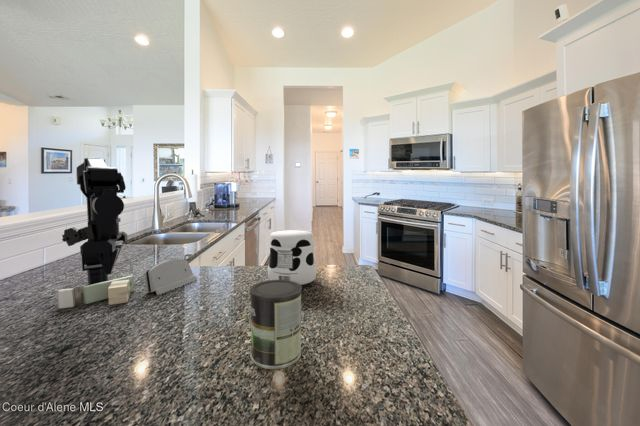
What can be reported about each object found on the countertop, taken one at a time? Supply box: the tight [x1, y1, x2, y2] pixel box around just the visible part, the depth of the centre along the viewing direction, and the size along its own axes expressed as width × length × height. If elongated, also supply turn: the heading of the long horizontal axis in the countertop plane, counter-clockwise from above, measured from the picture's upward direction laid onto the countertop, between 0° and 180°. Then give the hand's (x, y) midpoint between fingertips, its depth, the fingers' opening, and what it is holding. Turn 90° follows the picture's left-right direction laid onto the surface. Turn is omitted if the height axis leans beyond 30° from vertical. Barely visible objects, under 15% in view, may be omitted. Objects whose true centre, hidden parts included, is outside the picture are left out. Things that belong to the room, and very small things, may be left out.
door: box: [82, 275, 135, 305], centre depth 91 cm, size 3×13×5 cm, turn 147°
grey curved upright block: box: [143, 258, 198, 296], centre depth 101 cm, size 17×5×10 cm, turn 157°
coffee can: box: [249, 279, 303, 370], centre depth 59 cm, size 10×10×14 cm
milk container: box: [267, 229, 317, 287], centre depth 104 cm, size 17×17×18 cm
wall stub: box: [57, 287, 76, 310], centre depth 84 cm, size 2×3×5 cm, turn 114°
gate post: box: [73, 285, 84, 307], centre depth 85 cm, size 2×2×6 cm
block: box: [108, 280, 131, 306], centre depth 89 cm, size 7×4×5 cm, turn 27°
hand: (108, 273), depth 78 cm, fingers closed
